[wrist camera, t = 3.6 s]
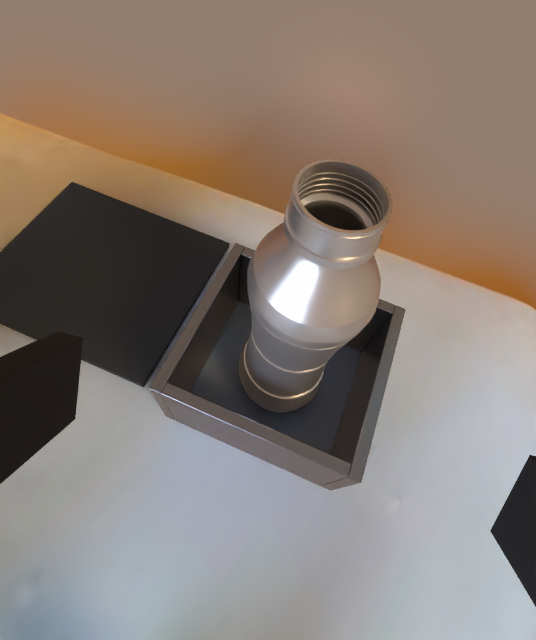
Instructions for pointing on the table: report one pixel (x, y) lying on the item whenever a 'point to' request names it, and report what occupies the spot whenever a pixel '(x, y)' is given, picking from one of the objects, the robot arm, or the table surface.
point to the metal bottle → (313, 282)
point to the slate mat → (105, 279)
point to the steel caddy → (258, 438)
